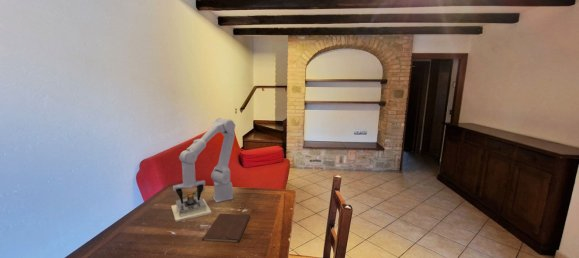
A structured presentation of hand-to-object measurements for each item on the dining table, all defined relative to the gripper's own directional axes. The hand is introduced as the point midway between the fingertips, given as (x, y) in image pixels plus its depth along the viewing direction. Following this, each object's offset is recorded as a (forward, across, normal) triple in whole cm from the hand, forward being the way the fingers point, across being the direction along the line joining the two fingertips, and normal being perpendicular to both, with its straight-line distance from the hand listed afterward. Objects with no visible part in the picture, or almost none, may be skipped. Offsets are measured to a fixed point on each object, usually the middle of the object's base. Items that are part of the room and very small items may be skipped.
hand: (190, 201), depth 125 cm
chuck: (+5, 0, 0) cm, 5 cm away
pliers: (+6, +3, +18) cm, 19 cm away
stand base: (+5, 0, 0) cm, 5 cm away
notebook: (+6, +11, -24) cm, 27 cm away
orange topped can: (+4, 0, 0) cm, 4 cm away
